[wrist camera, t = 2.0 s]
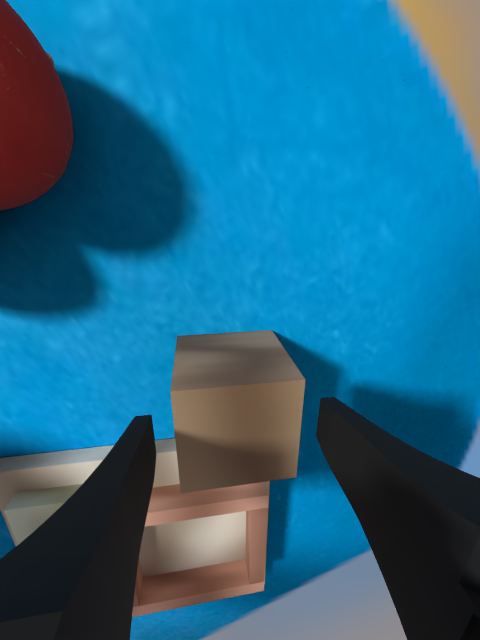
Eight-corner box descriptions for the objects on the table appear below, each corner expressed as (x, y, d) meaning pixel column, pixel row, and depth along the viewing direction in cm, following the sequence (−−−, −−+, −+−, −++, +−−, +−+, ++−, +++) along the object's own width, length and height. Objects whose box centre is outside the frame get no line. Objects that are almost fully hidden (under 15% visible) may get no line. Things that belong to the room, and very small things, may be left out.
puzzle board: (56, 608, 20) (39, 659, 18) (-3, 458, 15) (-37, 501, 13) (261, 569, 22) (269, 610, 20) (267, 427, 18) (279, 460, 15)
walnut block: (184, 414, 16) (180, 493, 12) (177, 335, 15) (170, 391, 10) (268, 406, 17) (296, 477, 13) (271, 329, 15) (305, 379, 11)
